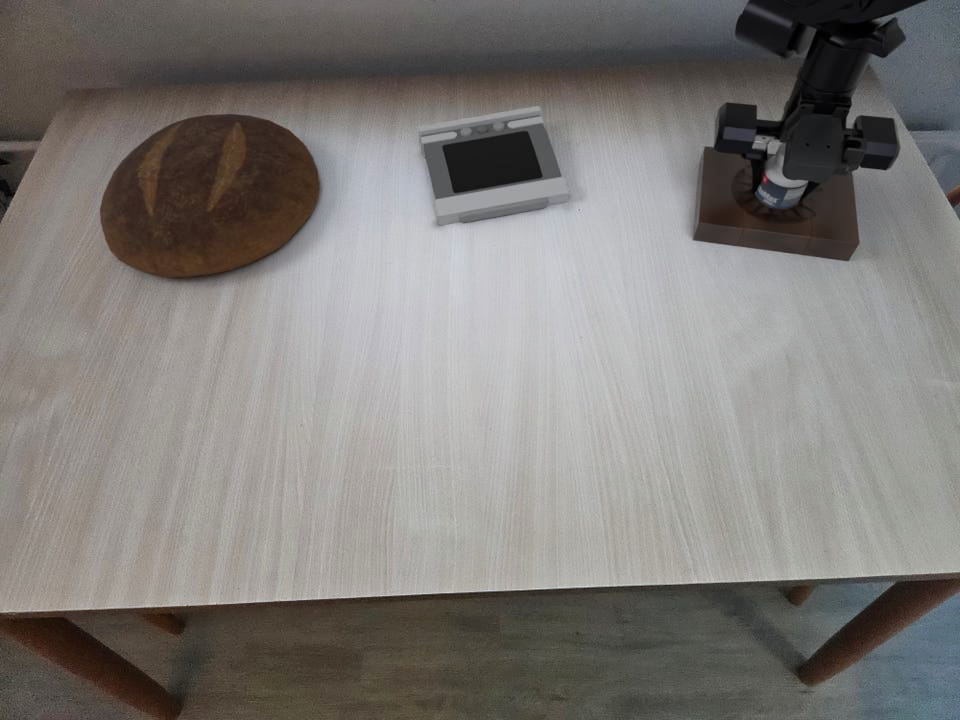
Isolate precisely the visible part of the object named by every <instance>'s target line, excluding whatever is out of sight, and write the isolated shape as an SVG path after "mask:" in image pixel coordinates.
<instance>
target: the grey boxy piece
mask: <svg viewBox="0 0 960 720" xmlns="http://www.w3.org/2000/svg"><path fill="white" fill-rule="evenodd" d="M417 134H418V138H419V145H420V150H421V153H422V154H423V158H424V159H425V160H426V164H427V169H428V173H429V178H430V182H431V187H432V190H433V195H434V199H433V202H434V209H435V215H436V219H437V223H438V226H444V225H448V224H449V225H450V224H455V223H460V222H461V223H469V222H476V221H480V220H486V219H492V218H497V217H503V216H509V215H513V214H520V213H525V212H530V211H537V210H542V209H545V208H547V206H552V205H553V206H554V205H559V204H564V203H568V202H569V199H570V194H571V192H570V189H569V186H568V183H567V178H566V176H562V173H561V169H560V167H559V163H558V160H557V157H556V153H555V151H554V148H553V145H552V143H551V140H550V138H549V135H548V132H547V130H546V128H545V121H544V119H543V117H542V109H541V107H540V105H536V106H529V107H523V108H519V109H511V110H506V111H502V112H501V111H500V112H494V113H489V114H484V115H478V116H472V117H471V116H470V117H467V118H460V119H454V120H448V121H443V122H437V123H432V124H431V123H430V124H426V125H419V126H417Z"/></svg>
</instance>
